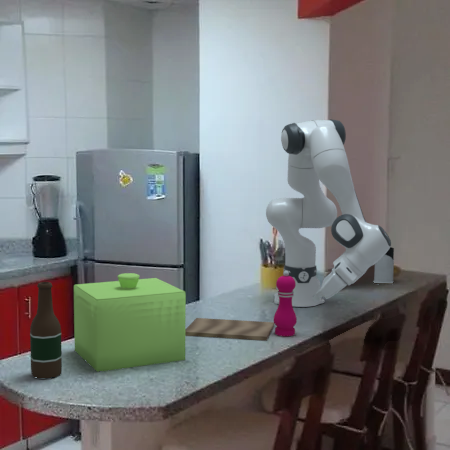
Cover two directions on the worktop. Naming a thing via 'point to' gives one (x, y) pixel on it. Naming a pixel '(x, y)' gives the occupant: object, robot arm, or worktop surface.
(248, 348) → the worktop surface
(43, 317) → the beer bottle
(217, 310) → the worktop surface
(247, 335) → the walnut board
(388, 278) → the glass holder
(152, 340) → the canister
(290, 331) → the pepper mill
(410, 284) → the worktop surface
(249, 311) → the worktop surface
